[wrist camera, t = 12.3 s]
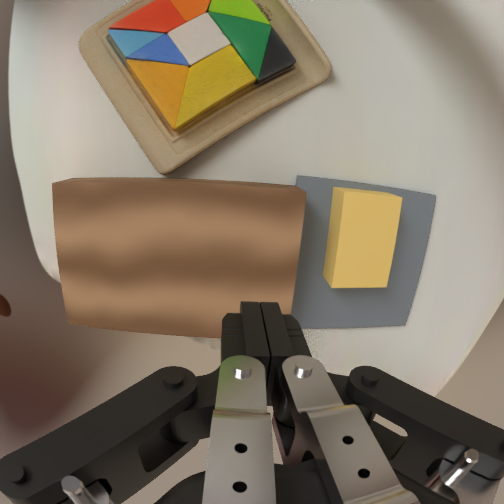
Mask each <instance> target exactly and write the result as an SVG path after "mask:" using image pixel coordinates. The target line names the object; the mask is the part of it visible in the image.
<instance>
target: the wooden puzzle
mask: <svg viewBox="0 0 504 504" xmlns="http://www.w3.org/2000/svg"><path fill="white" fill-rule="evenodd" d="M79 49H80V52H81V54H82V56H83V58H84V59H85V61H86V63H87V64H88V66H89V67H90V69H91V71H92V72H93V74H94V76H95V77H96V79H97V80H98V82H99V83H100V85H101V87H102V88H103V90H104V91H105V93H106V94H107V96H108V98H109V99H110V101H111V102H112V104H113V105H114V107H115V108H116V110H117V112H118V113H119V115H120V116H121V118H122V119H123V121H124V122H125V124H126V125H127V127H128V128H129V130H130V132H131V133H132V135H133V136H134V138H135V139H136V141H137V142H138V144H139V145H140V147H141V148H142V150H143V151H144V153H145V154H146V156H147V157H148V159H149V160H150V162H151V163H152V165H153V166H154V168H155V169H156V170H157V171H158V172H159V173H162V174H168V173H170V172H172V171H174V170H175V169H177V168H178V167H180V166H181V165H183V164H184V163H186V162H187V161H189V160H190V159H192V158H193V157H195V156H196V155H198V154H199V153H201V152H202V151H204V150H205V149H207V148H208V147H210V146H211V145H213V144H214V143H216V142H218V141H219V140H221V139H222V138H224V137H226V136H227V135H229V134H230V133H232V132H234V131H235V130H237V129H239V128H240V127H242V126H244V125H245V124H247V123H249V122H250V121H252V120H254V119H256V118H257V117H259V116H261V115H262V114H264V113H266V112H268V111H270V110H271V109H273V108H275V107H277V106H278V105H280V104H282V103H284V102H286V101H288V100H290V99H291V98H293V97H295V96H297V95H299V94H301V93H303V92H305V91H307V90H309V89H311V88H313V87H315V86H317V85H318V84H320V83H322V82H324V81H325V80H326V79H327V78H328V77H329V76H330V74H331V70H332V66H331V63H330V61H329V59H328V58H327V56H326V55H325V53H324V51H323V50H322V48H321V47H320V45H319V44H318V43H317V41H316V40H315V38H314V37H313V35H312V34H311V33H310V31H309V30H308V29H307V27H306V26H305V24H304V23H303V22H302V20H301V19H300V18H299V16H298V15H297V14H296V12H295V11H294V10H293V8H292V7H291V6H290V5H289V3H288V2H287V1H286V0H133V1H131V2H129V3H128V4H126V5H124V6H123V7H121V8H120V9H118V10H116V11H115V12H113V13H112V14H110V15H109V16H107V17H105V18H104V19H102V20H101V21H100V22H98V23H97V24H95V25H94V26H92V27H91V28H89V29H88V30H87V31H86V32H85V33H84V34H83V35H82V37H81V38H80V41H79Z"/></svg>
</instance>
